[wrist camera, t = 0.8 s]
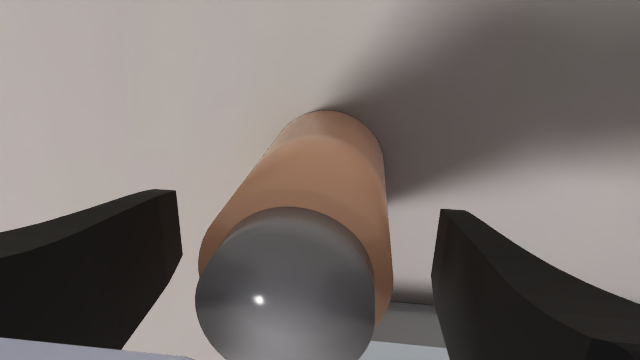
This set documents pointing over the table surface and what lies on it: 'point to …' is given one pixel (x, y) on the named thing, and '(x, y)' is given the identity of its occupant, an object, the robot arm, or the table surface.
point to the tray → (407, 335)
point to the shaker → (301, 248)
